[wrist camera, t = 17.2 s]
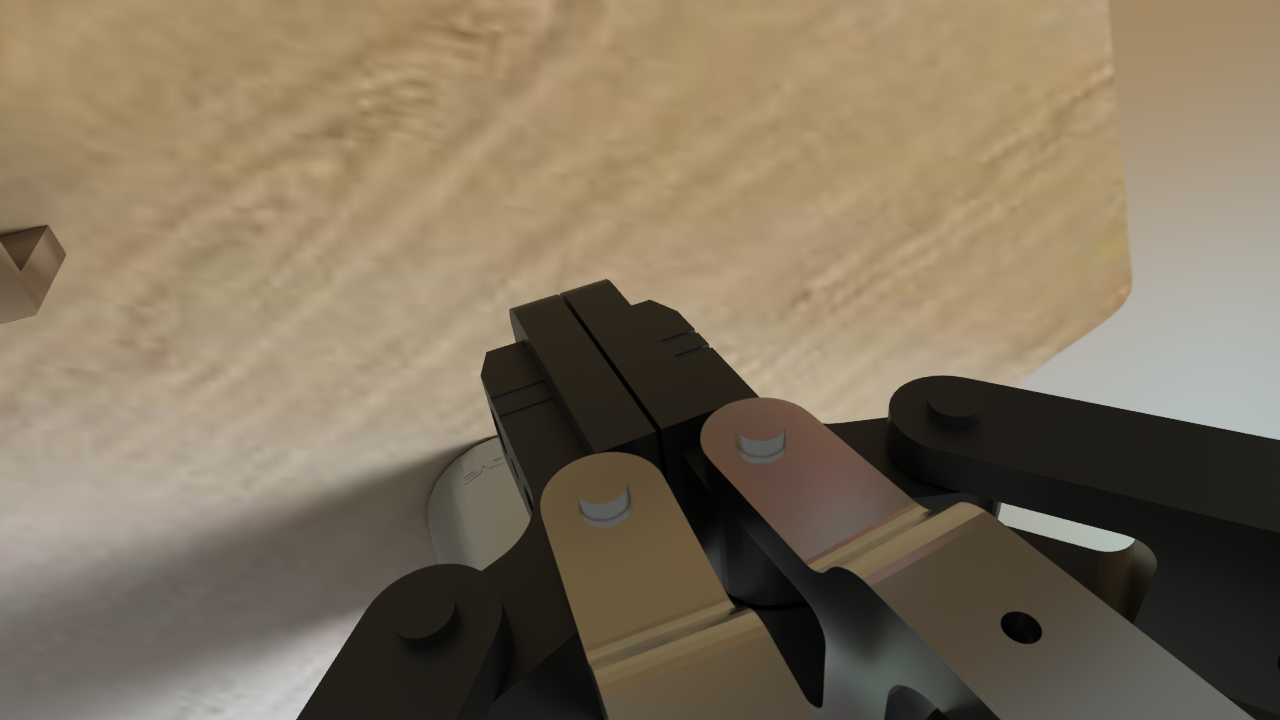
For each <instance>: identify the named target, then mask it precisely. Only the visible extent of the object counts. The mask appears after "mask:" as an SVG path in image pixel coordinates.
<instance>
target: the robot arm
mask: <svg viewBox="0 0 1280 720" xmlns="http://www.w3.org/2000/svg"><path fill="white" fill-rule="evenodd" d="M509 313H510V320H511V324H512V328H513V332H514V336H515V340H516V343H514V344H510V345H507V346H504V347H501V348H498V349H495V350H492V351H489V352H486V356H485V360H484V364H483V368H482V372H481V379H482V383H483V386H484V390H485V393H486V396H487V400H488V403H489V407H490V410H491V413H492V417H493V420H494V424H495V427H496V431H497V434H498V437H497V438H494V439H491V440H489V441H486V442H484V443H482V444H480V445H477V446H475V447H473V448H472V449H470V450H469V451H467V452H466V453H464V454H463V455H461V456H460V457H459V458H457V459H456V460H455V461H454V462H453V463H452V464H451V465H450V466H449V467H448V468H447V469H446V470H445V471H444V473H443V474H442V475H441V477H440V478H439V479H438V481H437V482H436V484H435V486H434V488H433V491H432V493H431V495H430V498H429V503H428V509H427V516H428V525H429V529H430V533H431V537H432V541H433V544H434V548H435V552H436V556H437V560H438V565H433V566H429V567H425V568H422V569H419V570H416V571H414V572H412V573H410V574H407V575H405V576H403V577H402V578H400V579H399V580H397V581H395V582H394V583H392V584H391V585H390V586H389V587H387V588H386V589H385V590H384V591H382V592H381V593H380V594H379V595H378V596H377V597H376V599H375V600H374V601H373V602H372V603H371V604H370V606H369V607H368V608H367V610H366V611H365V613H364V614H363V616H362V617H361V619H360V621H359V622H358V624H357V625H356V627H355V628H354V630H353V632H352V633H351V635H350V636H349V638H348V639H347V641H346V642H345V644H344V646H343V647H342V649H341V650H340V652H339V653H338V655H337V657H336V658H335V660H334V661H333V663H332V664H331V666H330V668H329V669H328V671H327V672H326V674H325V675H324V677H323V678H322V680H321V682H320V683H319V685H318V686H317V688H316V689H315V691H314V693H313V694H312V696H311V697H310V699H309V700H308V702H307V704H306V705H305V707H304V708H303V710H302V711H301V713H300V715H299V716H298V718H297V719H296V720H1280V440H1276V439H1271V438H1266V437H1261V436H1256V435H1251V434H1245V433H1241V432H1235V431H1230V430H1226V429H1220V428H1216V427H1210V426H1206V425H1200V424H1196V423H1190V422H1186V421H1180V420H1175V419H1170V418H1165V417H1160V416H1155V415H1150V414H1145V413H1140V412H1135V411H1130V410H1125V409H1120V408H1115V407H1110V406H1105V405H1100V404H1095V403H1090V402H1085V401H1080V400H1074V399H1070V398H1064V397H1059V396H1054V395H1049V394H1044V393H1039V392H1034V391H1029V390H1024V389H1019V388H1014V387H1009V386H1004V385H999V384H994V383H989V382H984V381H979V380H974V379H969V378H963V377H957V376H943V375H942V376H929V377H923V378H919V379H916V380H913V381H910V382H908V383H906V384H904V385H903V386H901V387H900V388H899V389H898V390H897V391H896V392H895V393H894V394H893V396H892V397H891V400H890V403H889V411H888V417H886V418H878V419H870V420H862V421H853V422H845V423H834V424H822V423H821V422H820V421H819V420H818V419H816V418H815V417H814V416H813V415H812V414H810V413H809V412H808V411H806V410H805V409H803V408H802V407H800V406H798V405H796V404H794V403H791V402H788V401H785V400H780V399H775V398H760V397H759V396H758V395H757V394H756V393H755V392H754V391H753V390H752V389H751V388H750V387H749V386H748V385H747V384H746V383H745V382H744V380H743V379H742V378H741V377H740V376H739V375H738V374H737V373H736V372H735V371H734V370H733V369H732V368H731V367H730V366H729V365H728V364H727V363H726V362H725V361H724V360H723V358H722V357H721V356H720V355H719V354H718V353H717V352H716V351H715V350H714V349H713V348H710V347H709V344H708V343H707V342H706V341H705V340H704V339H703V337H702V336H701V335H700V334H699V333H696V332H695V329H694V328H693V327H692V326H691V325H690V324H689V323H688V322H687V321H686V320H685V319H684V318H683V317H682V315H681V314H680V313H679V312H678V311H676V310H673V309H671V308H669V307H666V306H664V305H661V304H659V303H657V302H654V301H652V300H648V301H645V302H641V303H638V304H635V305H632V306H631V305H630V304H629V302H628V301H627V300H626V299H625V298H624V297H623V295H622V294H621V293H620V292H619V291H618V290H617V288H616V287H615V286H614V285H613V284H612V283H611V282H610V281H609V280H608V279H605V280H602V281H598V282H595V283H592V284H589V285H585V286H582V287H579V288H576V289H572V290H569V291H566V292H563V293H560V295H553V296H550V297H547V298H544V299H540V300H537V301H534V302H531V303H527V304H524V305H521V306H518V307H514V308H511V309H510V310H509ZM1001 503H1005V504H1009V505H1013V506H1017V507H1020V508H1025V509H1028V510H1032V511H1036V512H1040V513H1044V514H1047V515H1051V516H1055V517H1059V518H1062V519H1066V520H1070V521H1074V522H1077V523H1081V524H1085V525H1089V526H1093V527H1097V528H1100V529H1104V530H1108V531H1112V532H1116V533H1120V534H1123V535H1126V536H1129V537H1132V538H1134V539H1135V541H1134V542H1133V544H1131V545H1130V546H1129V547H1127V548H1126V549H1123V550H1120V551H1114V552H1103V551H1097V550H1093V549H1089V548H1086V547H1082V546H1078V545H1075V544H1071V543H1067V542H1064V541H1060V540H1057V539H1053V538H1049V537H1045V536H1042V535H1038V534H1035V533H1031V532H1027V531H1024V530H1020V529H1016V528H1013V527H1009V526H1006V525H1004V524H1003V523H1002V522H1000V521H999V520H998V516H999V512H1000V508H1001Z"/></svg>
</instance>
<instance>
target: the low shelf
mask: <svg viewBox="0 0 1280 720" xmlns="http://www.w3.org/2000/svg"><path fill="white" fill-rule="evenodd" d="M65 256H66V253H65V251H64V250H63V248H62V247H61V245H60V243H59V242H58V240H57V238H56V237H55V235H54V234H53V232H52V230H51V229H50V227H49V225H47V226H43V227H39V228H35V229H30V230H26V231H22V232H18V233H14V234H9V235H5V236H1V237H0V324H3V323H7V322H11V321H15V320H19V319H22V318H26V317H30V316H34V315H36V314H37V312H38V310H39V308H40V306H41V304H42V302H43V300H44V298H45V296H46V294H47V292H48V290H49V288H50V286H51V284H52V282H53V280H54V278H55V276H56V274H57V272H58V270H59V268H60V266H61V264H62V262H63V260H64V258H65Z"/></svg>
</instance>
